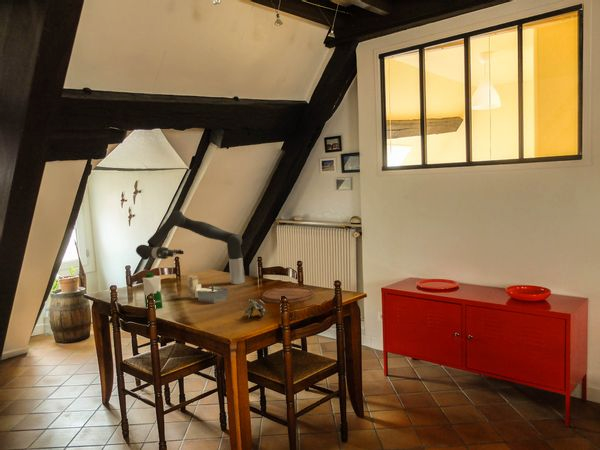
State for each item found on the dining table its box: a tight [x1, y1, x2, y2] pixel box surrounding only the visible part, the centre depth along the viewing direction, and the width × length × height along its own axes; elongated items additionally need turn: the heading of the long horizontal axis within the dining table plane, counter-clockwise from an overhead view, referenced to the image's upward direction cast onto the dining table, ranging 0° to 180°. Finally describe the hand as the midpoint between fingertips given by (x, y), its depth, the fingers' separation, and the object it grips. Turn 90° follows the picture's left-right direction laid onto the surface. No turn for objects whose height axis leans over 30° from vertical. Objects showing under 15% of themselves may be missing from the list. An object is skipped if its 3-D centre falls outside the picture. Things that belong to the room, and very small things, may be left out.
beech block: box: [186, 275, 199, 299], centre depth 303 cm, size 5×5×13 cm
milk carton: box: [142, 272, 163, 310], centre depth 282 cm, size 9×9×20 cm
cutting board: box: [260, 286, 316, 304], centre depth 293 cm, size 32×32×2 cm
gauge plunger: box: [195, 283, 218, 298], centre depth 297 cm, size 14×7×8 cm, turn 56°
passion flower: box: [241, 299, 266, 319], centre depth 254 cm, size 11×11×12 cm
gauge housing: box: [197, 285, 229, 304], centre depth 294 cm, size 13×12×6 cm
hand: (178, 253), depth 307 cm, fingers open, 8 cm apart
